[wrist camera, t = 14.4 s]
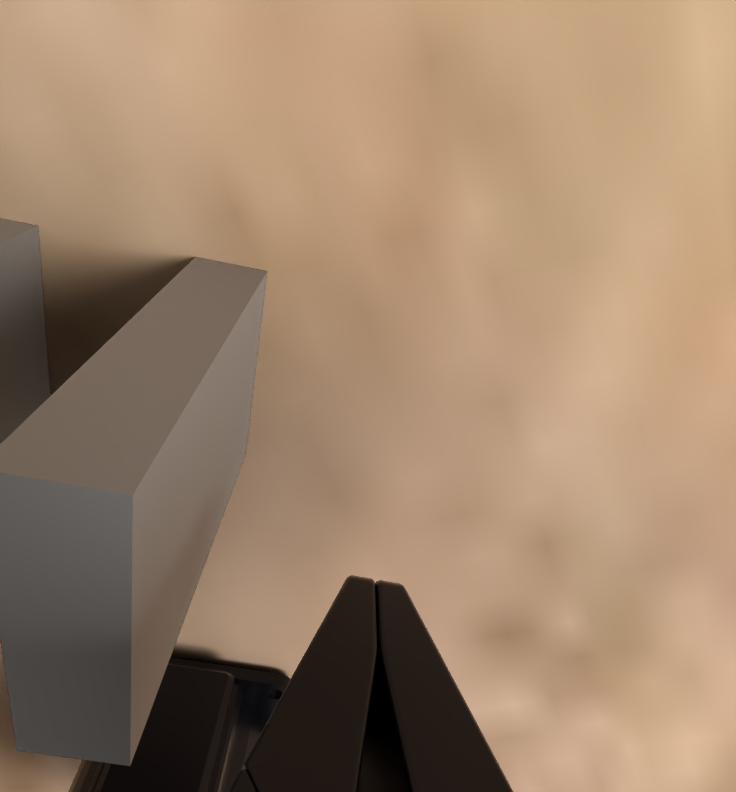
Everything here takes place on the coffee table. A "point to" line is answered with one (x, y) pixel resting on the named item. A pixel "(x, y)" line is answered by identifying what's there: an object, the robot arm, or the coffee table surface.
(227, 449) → the domino
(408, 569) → the coffee table surface
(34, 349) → the domino
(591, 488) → the coffee table surface
